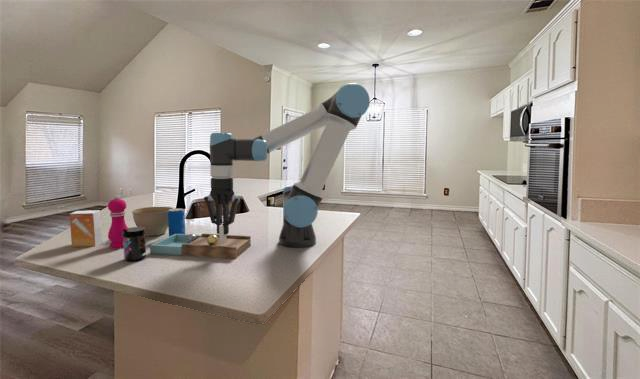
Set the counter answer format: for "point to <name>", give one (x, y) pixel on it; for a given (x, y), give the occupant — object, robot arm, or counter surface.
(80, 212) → the small box
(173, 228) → the beverage can
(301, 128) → the robot arm
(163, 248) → the tray
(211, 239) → the brass ball
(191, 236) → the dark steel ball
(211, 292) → the counter surface
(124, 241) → the supplement container
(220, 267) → the counter surface
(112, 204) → the pink tall rounded piece
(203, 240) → the walnut runway
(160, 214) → the planter bowl
